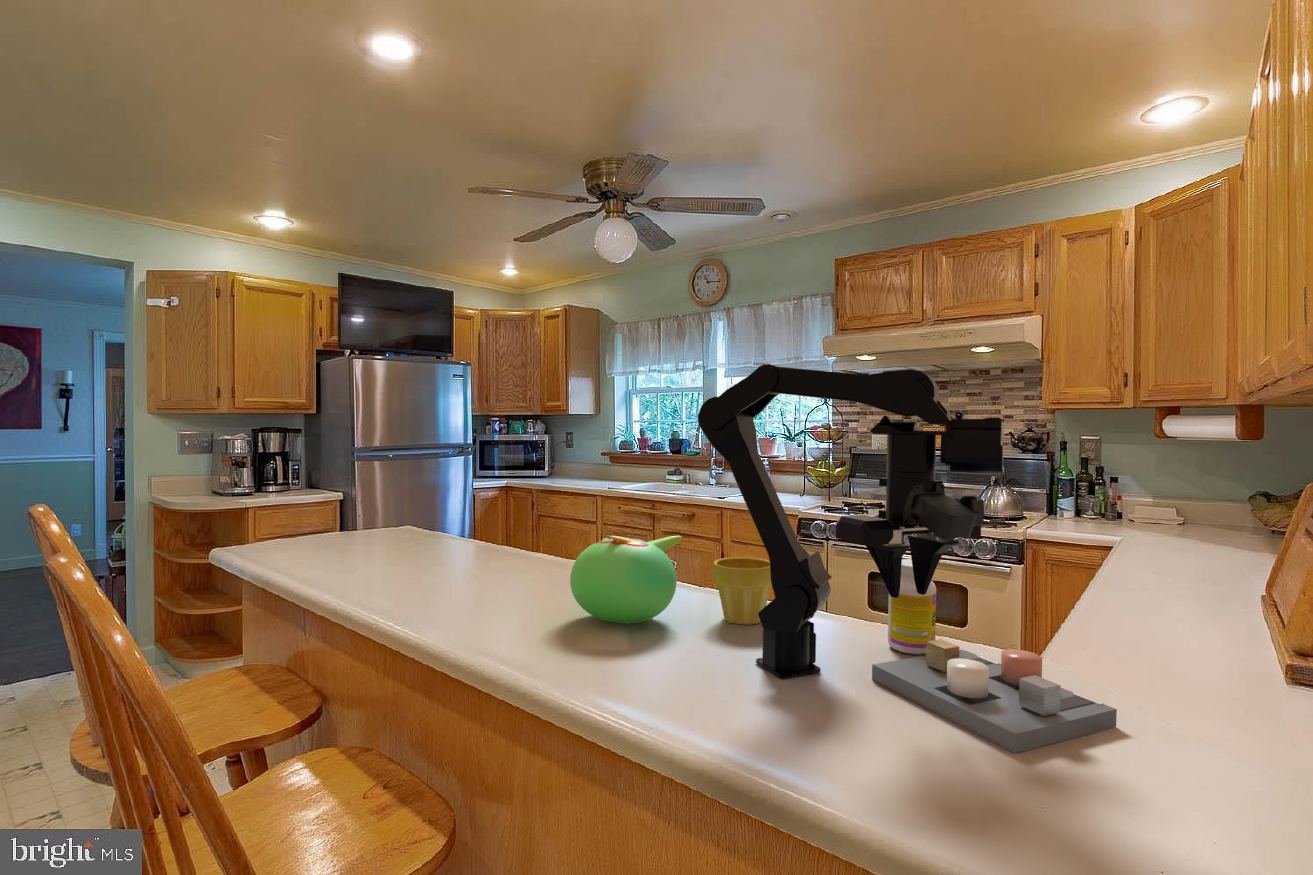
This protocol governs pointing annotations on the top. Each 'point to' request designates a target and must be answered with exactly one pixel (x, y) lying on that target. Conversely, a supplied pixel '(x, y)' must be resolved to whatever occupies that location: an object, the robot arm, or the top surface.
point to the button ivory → (967, 678)
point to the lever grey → (1039, 695)
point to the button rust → (1019, 665)
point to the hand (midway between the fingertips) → (908, 595)
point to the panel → (995, 705)
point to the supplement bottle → (911, 614)
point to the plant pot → (742, 588)
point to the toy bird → (625, 578)
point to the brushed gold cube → (940, 653)
